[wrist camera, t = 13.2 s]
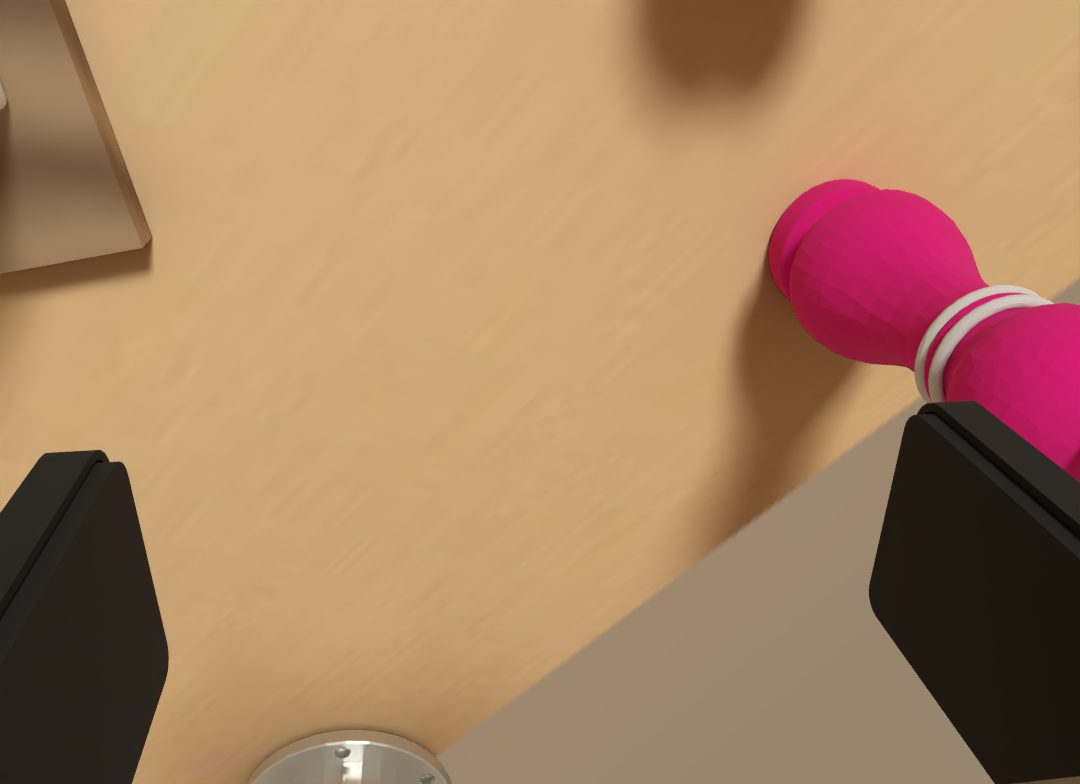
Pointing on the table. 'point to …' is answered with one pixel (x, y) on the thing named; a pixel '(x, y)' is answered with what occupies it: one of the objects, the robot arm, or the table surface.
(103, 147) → the walnut board
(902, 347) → the pepper mill
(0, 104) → the medicine bottle
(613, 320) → the table surface
